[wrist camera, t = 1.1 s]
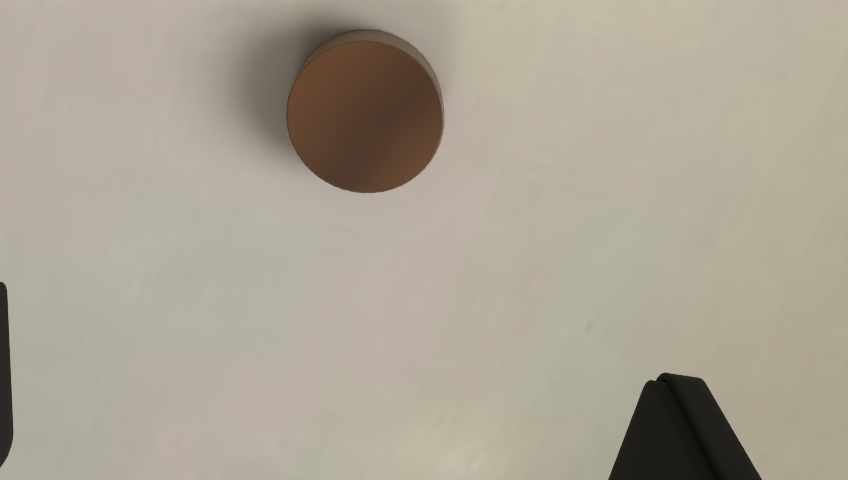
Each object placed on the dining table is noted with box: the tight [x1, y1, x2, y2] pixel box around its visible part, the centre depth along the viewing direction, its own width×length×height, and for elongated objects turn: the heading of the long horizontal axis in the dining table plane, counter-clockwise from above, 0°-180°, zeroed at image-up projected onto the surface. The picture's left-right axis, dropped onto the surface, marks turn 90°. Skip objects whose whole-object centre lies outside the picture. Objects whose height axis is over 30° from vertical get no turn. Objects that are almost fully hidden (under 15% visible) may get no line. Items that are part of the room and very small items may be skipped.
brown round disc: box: [286, 30, 444, 193], centre depth 25 cm, size 5×5×2 cm
